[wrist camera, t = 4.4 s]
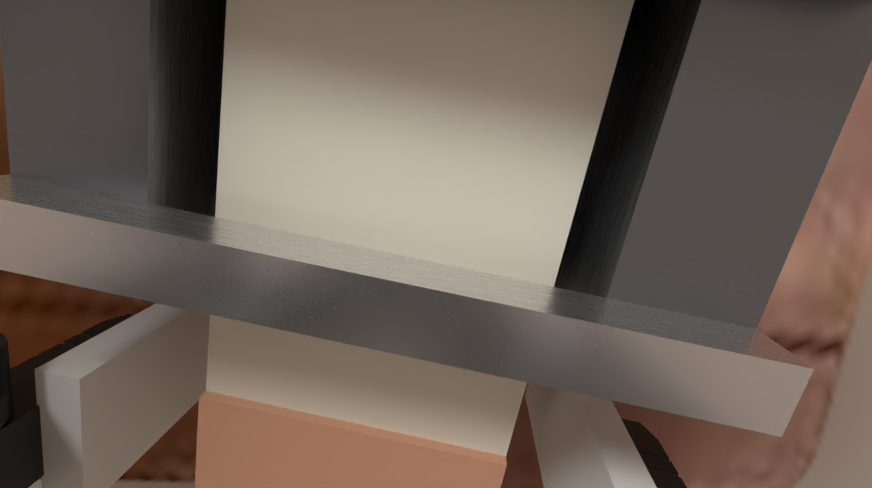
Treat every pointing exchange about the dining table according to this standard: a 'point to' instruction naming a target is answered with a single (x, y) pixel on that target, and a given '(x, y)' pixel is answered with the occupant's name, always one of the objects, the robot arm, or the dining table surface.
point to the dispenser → (434, 282)
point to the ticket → (394, 216)
